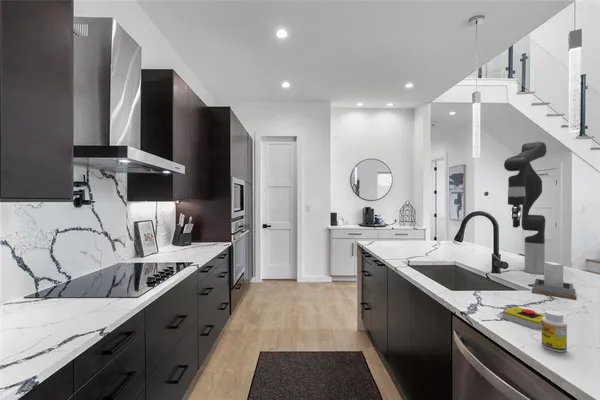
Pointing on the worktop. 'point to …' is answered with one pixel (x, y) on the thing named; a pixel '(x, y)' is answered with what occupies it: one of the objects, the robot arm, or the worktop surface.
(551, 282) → the skincare box
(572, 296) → the dock socket
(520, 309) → the emergency button
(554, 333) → the supplement bottle
